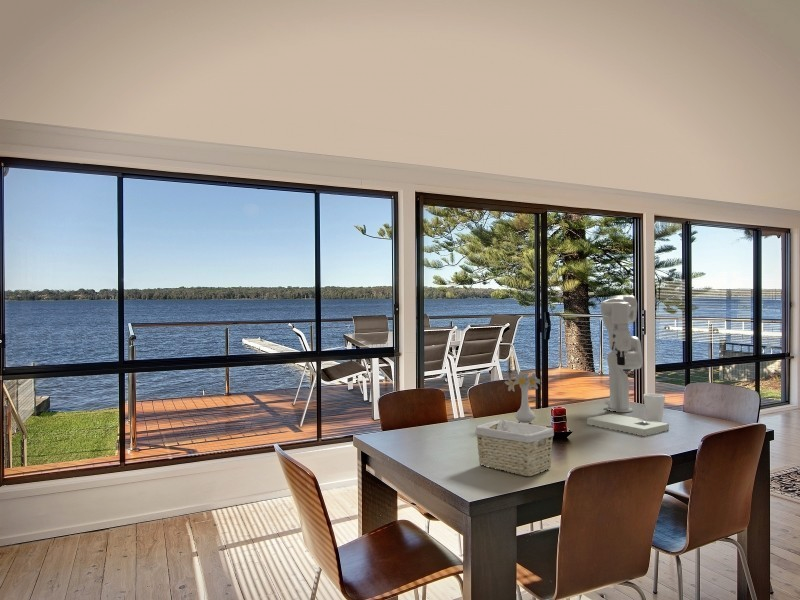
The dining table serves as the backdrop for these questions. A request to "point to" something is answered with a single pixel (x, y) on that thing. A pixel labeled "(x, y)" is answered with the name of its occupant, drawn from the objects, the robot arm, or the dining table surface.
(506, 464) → the storage basket
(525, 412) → the flower vase
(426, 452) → the dining table surface
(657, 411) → the foam cup
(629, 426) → the hole board
